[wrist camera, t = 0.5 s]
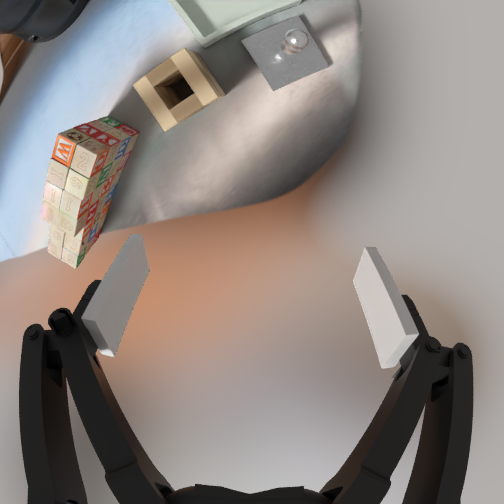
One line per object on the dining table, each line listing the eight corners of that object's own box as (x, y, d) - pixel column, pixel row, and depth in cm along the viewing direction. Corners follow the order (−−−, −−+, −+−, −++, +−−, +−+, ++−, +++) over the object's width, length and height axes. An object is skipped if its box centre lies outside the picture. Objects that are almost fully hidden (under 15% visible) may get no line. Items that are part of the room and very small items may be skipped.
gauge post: (241, 41, 26) (232, 21, 16) (297, 17, 24) (315, -12, 14) (272, 91, 30) (280, 93, 20) (327, 67, 28) (359, 61, 18)
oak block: (154, 83, 29) (132, 85, 24) (198, 54, 27) (184, 47, 22) (181, 122, 33) (164, 131, 27) (225, 95, 31) (217, 97, 25)
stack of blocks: (99, 238, 44) (66, 282, 34) (73, 222, 42) (36, 262, 32) (141, 131, 33) (97, 155, 23) (107, 114, 32) (56, 133, 21)
